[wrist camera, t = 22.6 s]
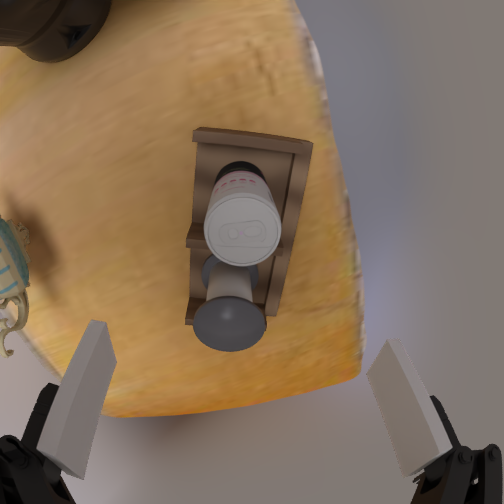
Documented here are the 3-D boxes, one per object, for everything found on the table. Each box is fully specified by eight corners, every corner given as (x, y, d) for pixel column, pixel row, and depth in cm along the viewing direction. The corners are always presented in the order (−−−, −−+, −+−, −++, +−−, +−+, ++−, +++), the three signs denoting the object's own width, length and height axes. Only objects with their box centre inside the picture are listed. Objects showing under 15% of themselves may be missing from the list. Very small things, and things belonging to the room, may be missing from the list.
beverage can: (267, 205, 38) (284, 263, 25) (218, 210, 38) (209, 271, 25) (263, 157, 35) (280, 191, 22) (211, 163, 35) (196, 200, 22)
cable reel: (203, 245, 41) (193, 296, 30) (262, 251, 42) (270, 303, 31) (201, 293, 45) (193, 348, 34) (254, 297, 45) (259, 353, 35)
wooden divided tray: (200, 127, 33) (193, 130, 28) (308, 140, 35) (321, 147, 30) (190, 299, 46) (185, 324, 41) (274, 306, 48) (278, 331, 42)
